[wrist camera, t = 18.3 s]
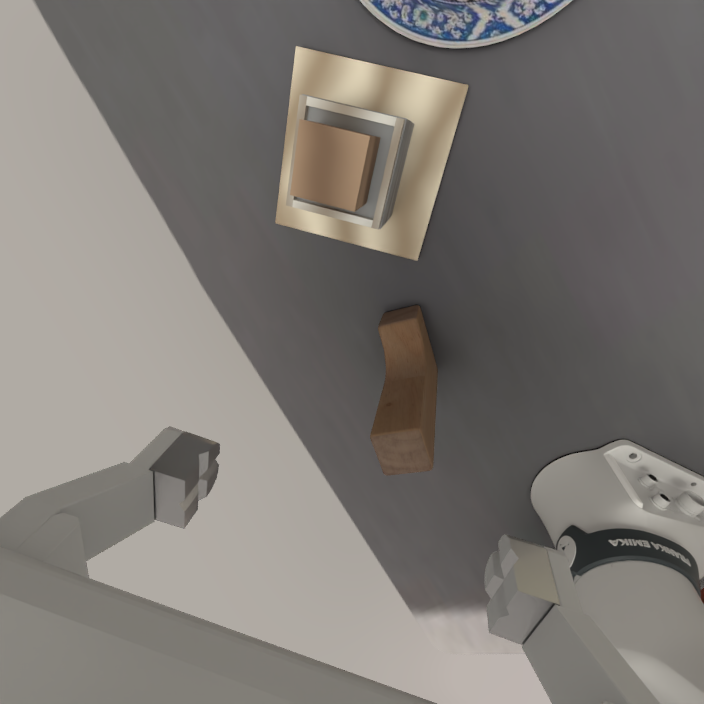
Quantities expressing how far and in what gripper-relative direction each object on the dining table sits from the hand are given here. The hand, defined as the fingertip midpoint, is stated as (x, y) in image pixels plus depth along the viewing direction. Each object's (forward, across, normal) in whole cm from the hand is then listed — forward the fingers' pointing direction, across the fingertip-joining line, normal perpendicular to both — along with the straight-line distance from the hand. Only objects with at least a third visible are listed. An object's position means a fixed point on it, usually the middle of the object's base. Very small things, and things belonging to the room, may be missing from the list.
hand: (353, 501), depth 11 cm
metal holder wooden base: (+37, -8, +6) cm, 38 cm away
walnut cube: (+28, -8, +6) cm, 29 cm away
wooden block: (+37, +2, -12) cm, 39 cm away
